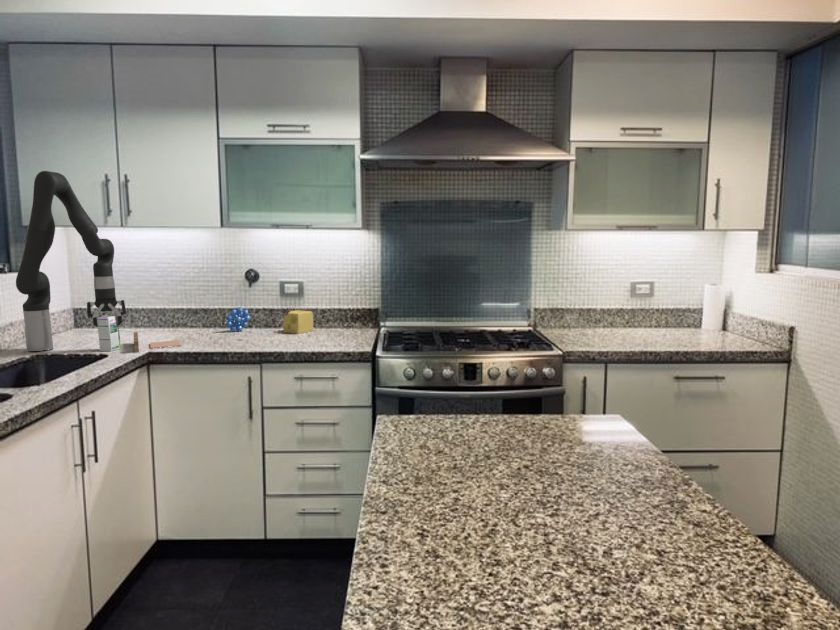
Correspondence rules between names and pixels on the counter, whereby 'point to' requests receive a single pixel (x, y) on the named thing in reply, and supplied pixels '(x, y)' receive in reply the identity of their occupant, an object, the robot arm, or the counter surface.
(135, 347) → the walnut wall
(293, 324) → the cheese
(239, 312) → the grapes
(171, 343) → the terracotta tile
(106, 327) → the syrup box
